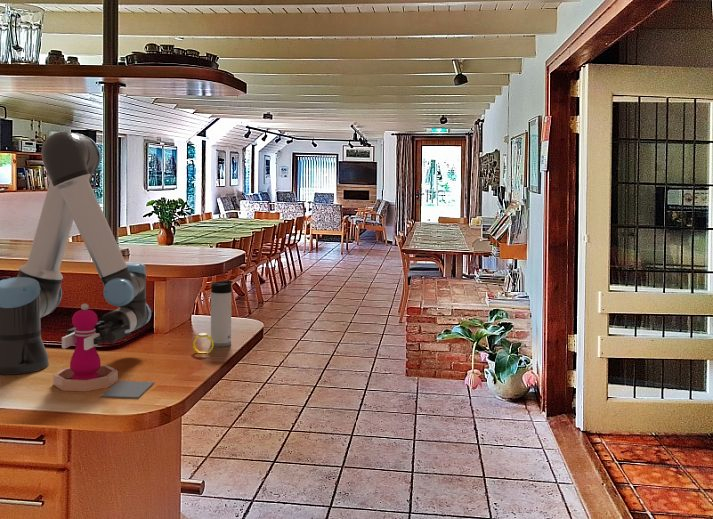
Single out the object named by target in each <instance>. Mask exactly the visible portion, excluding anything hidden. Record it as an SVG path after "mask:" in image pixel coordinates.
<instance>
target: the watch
mask: <svg viewBox="0 0 713 519" xmlns="http://www.w3.org/2000/svg"><path fill="white" fill-rule="evenodd" d="M198 338H207V339H208V340H209V341H210V344H211V343H212V345H211V348H210V350H208V351H200V350H199V349H198V348H197V346H196V341H197V339H198ZM214 347H215V346H214V342H213V339H212V338H211V335H209V333H206V332H200V333H198V335H197V336H196V337H195V338H194V340H193V342H192V348H193V351H194V352H196V354H199V353H207V354H206V355H208V354H210V353H211V352H212V351H213V349H214ZM199 355H200V354H199Z"/></svg>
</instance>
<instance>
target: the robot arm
mask: <svg viewBox="0 0 713 519" xmlns="http://www.w3.org/2000/svg"><path fill="white" fill-rule="evenodd" d="M40 153H41V154H40V155H41V160H42V163H43V166H44V168H45V171H46V172H45V176H46V178H47V180H48V182H49V184H48V187H47V191H46V194H45V199H44V202H43V205H42V209H41V212H40V216H39V219H38V224H37V227H36V230H35V233H34V234H35V235H34V238H33V241H32V245H31V249H30V252H29V256H28V258H27V262H26V263H24V264H23V265H21V266H20V267H19V269H18V270H19V271H18V274H17V276H16V277H9V278H7V279H5V278H4V279H1V280H0V375H19V374H28V373H33V372H37V371H41V370H43V369H45V368H47V367H48V366H49V365H50V364H49V363H50V362H49V355H48V352H47V349H46V348H45V344H44V341H43V339H42V331H41V330H42V328H41V327H42V326H41V319H42V318H43V317H46V316H48V315H49V314H51V313H53V312H54V310H56V308H57V307H58V305H60V302H61V300H62V298H63V290H62V287H61V286H62V282H63V279H64V276H63V274H62V272H61V271H60V269H61V265H62V262H63V258H64V255H65V251H66V247H67V244H68V240H69V237H70V234H71V233H70V232H71V230H72V226H73V222H74V224H75V226H76V227H77V230H78V232H79V234H80V237H81V239H82V241H83V244H84V245H85V248H86V250H87V253H88V255H89V257H90V259H91V261H92V263H93V265H94V267H95V270H96V271H97V274H98V276H99V278H100V281H101V282H102V286H103V293H102V294H103V298H104V300H105V301H106V302H107V303H108V304H109V305H111V306H113V307H118V308H117V309H114V310H112V311H109V312H107V313H105V314H103V315H102V316H101V317H100V319H98V320H99V321H98V322H97V324H96V326H95V327H94V328H95V329H96V330H95V332H96V334H94V335H92V336H89V337H87V338H85V339H84V350H88V349H90V348H92V347H94V346H95V347H97V346H98V345H100V344H106V343H107V342H108V344H114V343H116V342H118V341H119V340H122V339H123V338H124V337H128V336H129V337H130V335H131V333H132V332H134V331H136V330H138V329H141V328H143V327H144V326H145V325H146V324H148V323H149V321H150V320H151V317H152V310H151V308H150V306H149V305H148V303H147V297H146V296H147V292H146V291H147V279H146V278H147V273H146V265H145V263H142V262H133V261H132V262H131V261H129V262H126V261H125V258H124V256H123V253H122V252H121V249H120V248H119V245H118V243H117V241H116V239H115V236H114V233H113V231H112V229H111V227H110V225H109V223H108V220H107V218H106V217H105V216H106V215H105V213H104V211H103V209H102V206H101V205H100V203H99V201H98V199H97V196H96V193H95V192H94V189H93V188H92V184H91V181H92V176H93V174H94V173H95V172H96V171H97V169H98V168H99V166H100V164H101V159H102V157H101V156H102V155H101V151H100V148H99V146H98V145H97V143H96V142H95V141H94V140H93V139H92V138H90V137H88V136H87V135H84V134H82V133H79V132H70V131H58V132H54V133H52V134H50V135H48V137H47V138H46V139H45V141H44V142H43V144H42V146H41V152H40ZM75 329H76V328H75V327H74V326H73V327H72V328H70V329H67V330H66V335H65V336H62V337H61V349H67V348H70V347H72V346H73V345H74V346H75V345H76V336H75V335H74V333H75V331H74V330H75Z"/></svg>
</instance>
